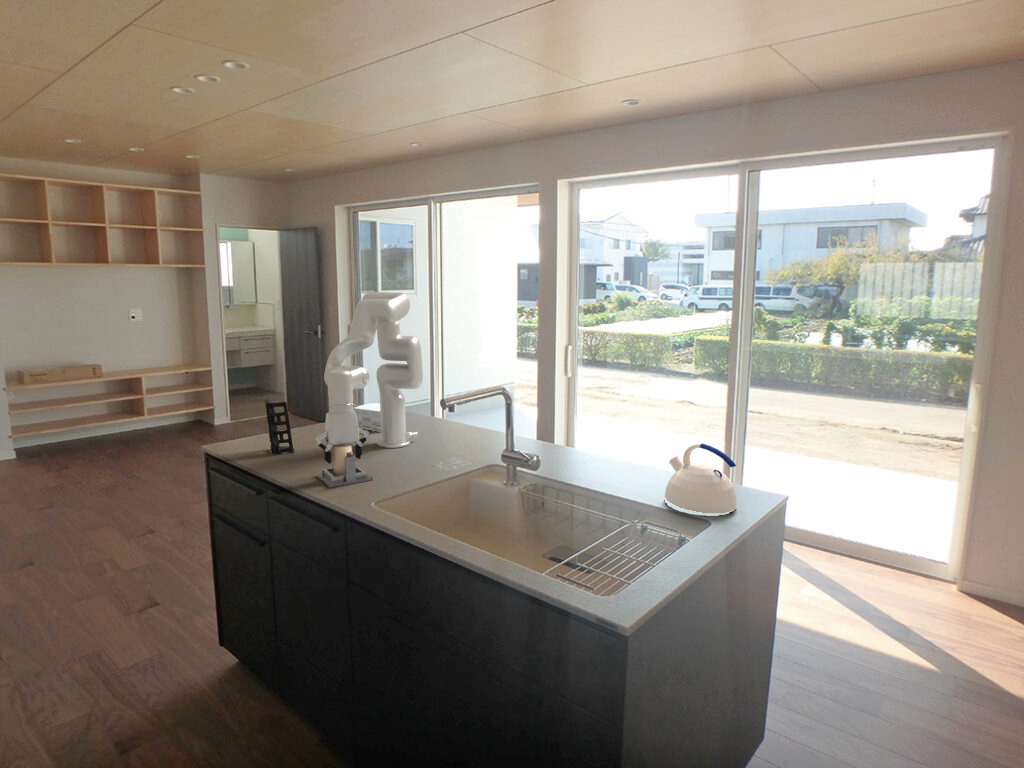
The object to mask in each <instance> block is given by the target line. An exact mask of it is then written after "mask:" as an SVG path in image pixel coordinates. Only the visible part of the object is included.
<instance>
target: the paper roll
mask: <svg viewBox="0 0 1024 768" xmlns="http://www.w3.org/2000/svg"><path fill="white" fill-rule="evenodd" d="M332 447H333V463H332V467H333V466H334V477H336V476H342V475H345V456H347V455H346V453H348V452H353V444H352V443H345V444H338V445H332Z"/></svg>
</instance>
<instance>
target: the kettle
mask: <svg viewBox="0 0 1024 768" xmlns="http://www.w3.org/2000/svg"><path fill="white" fill-rule="evenodd" d="M695 449H696V450H697V449H703V450H705V451H708V452H711V453H713V454H715V455H716V456H718V457H719V458H720V459H722V460H723V461H724V462H725V463H726V464H727V465H728V467H730V468H734V467H737V465H736V463H735V462H734V461H733V460H732V459H731V458H730V456H728V455H727V454H726V453H724V452H723V451H721V450H719V449H718V448H716V447H714V446H712V445H709V444H705V443H694V444H691V445H690V446H688V447H687V449H686V450H685V451H684V453H683V457H682V460H681V459H680V457H679V455H675V456H673V457H672V458H671V459H670V460H669V462H668V464H669V465H671V467H672V468H673V469H674V471H675V472H674V474H673V475H672V476H671V477H670V479H668V482H667V484H666V487H665V492H664V498H666V499H667V501H669V502H670V503H672V504H674V505H676V506H678V507H680V508H684V509H687V510H692V511H696V512H702V513H725V512H729V511H732V510H734V509H735V508H736V506H737V492H736V490H735V487H734V485H733V483H732V481H731V480H730V478H729V477H728V476H727V475H726V474H725V473H724V472H722V471H721V470H720V469H719V468H717V467H715V466H713V465H709V464H705V463H695V464H693V463H691V459H690V458H691V454H692V452H693V451H694V450H695ZM736 509H737V508H736Z"/></svg>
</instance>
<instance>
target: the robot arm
mask: <svg viewBox="0 0 1024 768" xmlns="http://www.w3.org/2000/svg"><path fill="white" fill-rule="evenodd" d="M410 308H411V300H410V298H409V296H408V295H407V294H406V293H405V292H390V291H389V292H386V291H376V292H368V293H365V294H363V296H362V299H361V300H360V301H358V302H357V303H356V306H355V311H354V313H353V317H352V320H351V321H352V322H351V325H350V328H349V332H348V335H347V337H346V338H343V340H341V341H340V343H338V344H337V345H336V346H335V347H334V348H333V350H332V351H331V352H330V354H328V355H329V356H328V358H327V362H326V364H325V369H324V373H323V374H324V375H323V377H324V378H323V380H324V383H325V385H326V386H327V395H328V412H326V414H325V422H324V423H325V424H324V432H322V433H321V434H319V435H318V436H317V437H315V438H314V441H315V443H316V444H317V446H318V447H319V448H320V449H322V451H323V454H324V455H323V456H324V461H325V463H327V464H328V465H330V464H332V451H330V450H331V449H332V447H333V445H338V444H345V443H350V444H352V443H355V445H354V455H355V459H357V460H360V459H361V458H362V457H361V456H362V455H363V454H362V452H363V451H362V449H363V448H362V447H363V446H364V444H365V443H366V442H367V439H368V437H369V434H370V432H369V431H368V430H363V429H360V428H359V427H358V421H357V416H356V412H355V411H354V408H355V407H358V406H359V405H358V403H357V402H354V391H353V390H361V389H364V388H365V387H366V386H367V385H368V383H369V382H370V373H369V370H368V369H366V368H365V367H363V366H359V365H342V363H343V362H344V361H345V360H346V359H348V357H350V356H352V355H354V354H356V353H358V352H361V351H363V350H366V349H367V348H368V349H369V347H370V348H371V346H372V345H373V344H374V341H375V340H374V339H375V336H377V348H378V349H377V350H378V354H379V357H380V358H381V360H384V361H392V363H391V362H389V363H388V362H387V363H383V364H381V365H379V366H378V368H377V369H376V380H377V386H378V391H379V393H378V394H379V404H380V416H381V432H380V437H381V439H378V440H377V442H376V443H377V444H376V445H377V446H379V447H381V448H386V449H389V448H390V449H391V448H392V449H393V448H394V449H395V448H402V447H407V446H408V445H410V444H411V438H417V437H418V436H419V433H418V431H415V432H414V431H413V432H412V431H407V426H406V422H407V421H406V419H407V418H406V397H405V395H404V394H403V392H402V391H401V389H404V390H416V389H419V388H420V387H421V386H422V384H423V379H424V376H423V358H422V357H423V356H422V347H421V342H420V340H419V339H418V338H417V336H416V337H415V336H413V335H412V336H411V335H402V334H401V329H400V328H401V327H400V322H399V321H400V320H402V319H403V318H405V317H406V316H408V313H409V311H410ZM393 362H395V363H393ZM396 362H406V363H396ZM360 434H362V436H361V438H360ZM323 439H324V440H325V442H326V443H325V444H324V443H323V442H322V441H323Z"/></svg>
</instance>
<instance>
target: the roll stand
mask: <svg viewBox="0 0 1024 768" xmlns="http://www.w3.org/2000/svg"><path fill="white" fill-rule="evenodd" d="M346 455H347V456H345V475H342V476H336V477H334V466H333V465H332V467H329V468H322V469H321V472H315V473H316V475H315V477H317V478H318V479H319V480H320V481H321V480H322V481H323V482H324V483H323V482H322V481H321V482H322V483H323V484H324V485H325V486H327V487H328V489H331V487H332V488H337V487H336V486H338V487H343V486H348V485H347V484H349V485H353V483H355V484H359V483H358V482H360V483H364V482H365V481H366V482H370V480H371V481H373V480H374V479H373V476H371V475H370V474H369V473H368V472H367V471H366V470H363V469H362V468H360V467H359V466H358V465H357V464H356V457H355V454H354V452H353V451H352V452H348V453H346ZM331 464H333V446H332V447H331ZM342 485H343V486H342Z"/></svg>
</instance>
